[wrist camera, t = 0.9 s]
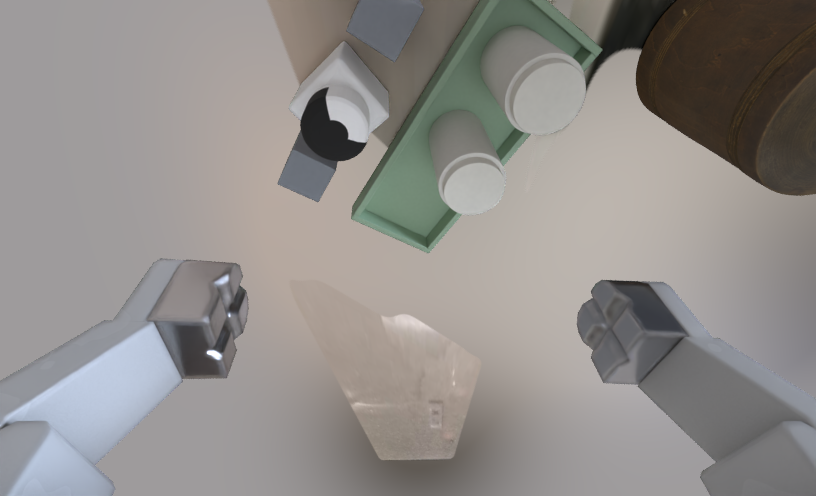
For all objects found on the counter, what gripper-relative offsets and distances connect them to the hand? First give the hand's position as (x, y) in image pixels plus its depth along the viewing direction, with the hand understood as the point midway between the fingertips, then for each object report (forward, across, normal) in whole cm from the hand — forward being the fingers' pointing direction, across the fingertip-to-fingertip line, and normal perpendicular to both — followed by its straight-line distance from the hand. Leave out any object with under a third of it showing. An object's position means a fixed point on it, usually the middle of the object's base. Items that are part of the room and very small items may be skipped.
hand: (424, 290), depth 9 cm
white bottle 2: (+37, -13, +3) cm, 39 cm away
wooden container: (+38, -35, 0) cm, 51 cm away
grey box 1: (+38, +8, +16) cm, 42 cm away
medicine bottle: (+38, +5, +8) cm, 39 cm away
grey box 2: (+38, +1, 0) cm, 38 cm away
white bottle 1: (+37, -9, +12) cm, 40 cm away
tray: (+38, -9, +12) cm, 41 cm away
